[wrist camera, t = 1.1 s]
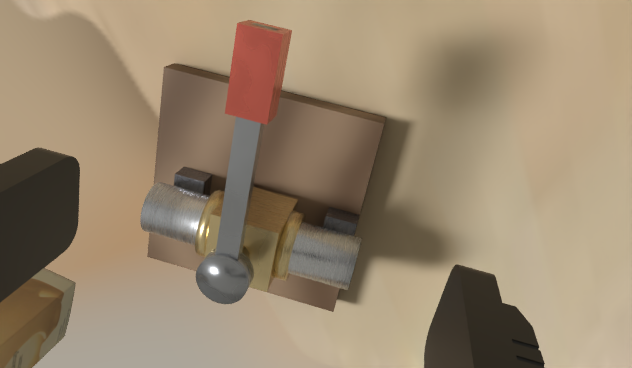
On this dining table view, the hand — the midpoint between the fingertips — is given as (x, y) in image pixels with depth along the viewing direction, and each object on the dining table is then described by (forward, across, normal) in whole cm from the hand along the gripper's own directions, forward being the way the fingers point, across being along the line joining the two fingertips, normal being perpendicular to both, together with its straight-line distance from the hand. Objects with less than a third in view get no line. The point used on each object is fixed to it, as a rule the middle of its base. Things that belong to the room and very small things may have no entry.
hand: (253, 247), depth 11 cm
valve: (+21, +4, +11) cm, 24 cm away
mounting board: (+23, +5, +10) cm, 25 cm away
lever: (+14, +4, +5) cm, 16 cm away
